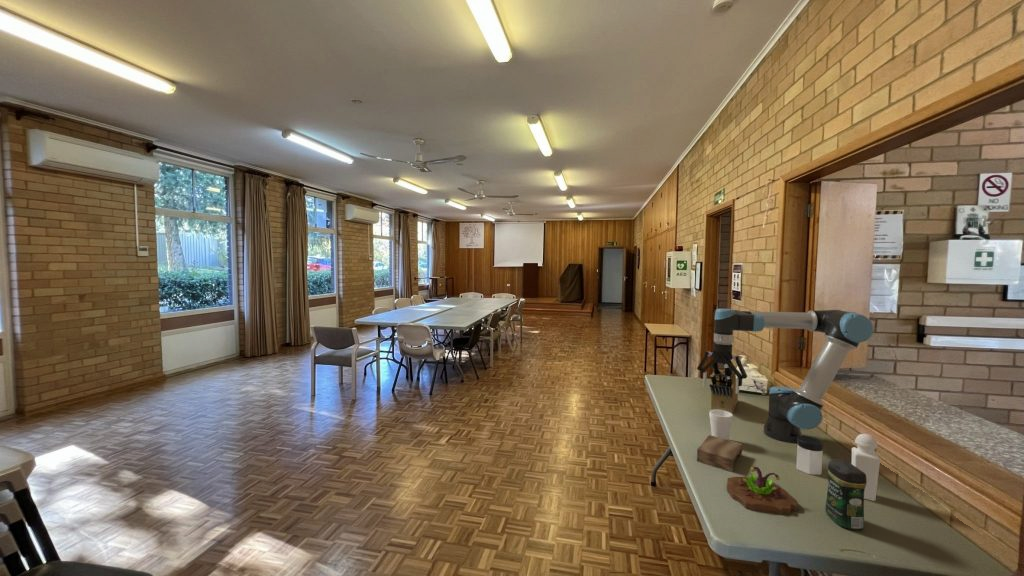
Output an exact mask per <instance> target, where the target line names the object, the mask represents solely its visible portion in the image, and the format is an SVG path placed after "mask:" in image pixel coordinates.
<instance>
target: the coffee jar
mask: <svg viewBox="0 0 1024 576" xmlns="http://www.w3.org/2000/svg"><path fill="white" fill-rule="evenodd" d="M827 477H828V478H827V479H828V480H827V481H828V482H827V493H826V501H825V507H824V508H825V513H826V515H827V516H828V517H829V518H830V519H831V520H832V521H833V522H834V523H835V524H837V525H838V526H840V527H841V528H845V529H848V530H851V531H853V530H855V531H858V530H863V529H864V528H865V499H864V490H865V487H866V484H867V483H866V482H867V481H866V474H865V473H864V472H862V471H861V470H860V469H858V468H857V467H855V466H854V465H852V463H850V462H849V461H847V460H845V459H831V460H830V461H829V462H828V465H827Z"/></svg>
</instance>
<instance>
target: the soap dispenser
mask: <svg viewBox="0 0 1024 576" xmlns="http://www.w3.org/2000/svg"><path fill="white" fill-rule="evenodd" d="M854 443H855V445H856V447H855V446H854V447H852V448H851V464H852V465H854V466H855V467H857V468H858V469H860V470H861V471H862V472H864V473H865V474H866V481H867V482H866V483H867V484H866V487H865V490H864V500H867V501H872V502H876V500H877V499H876V498H877V492H878V491H877V489H878V481H879V473H880V464H881V458H880V457H879V456H878V454H877V452H876V451H875V450H876V449H877V448H878V447H879V445H878V442H877V440H876V439H875V437H873V435H871V434H868V433H860V434H858V435H857V436H856V438H855V439H854Z"/></svg>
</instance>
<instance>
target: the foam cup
mask: <svg viewBox="0 0 1024 576" xmlns="http://www.w3.org/2000/svg"><path fill="white" fill-rule="evenodd" d="M708 416H709V421H710V430H711V436H714V437H718V438H722V439H726V440H729V439H730V433H731V428H732V422H733V420H734V419H733V417H734V415H733V413H730V412H727V411H724V410H713V409H711V410H709V414H708Z"/></svg>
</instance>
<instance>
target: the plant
mask: <svg viewBox="0 0 1024 576" xmlns="http://www.w3.org/2000/svg"><path fill="white" fill-rule="evenodd" d="M750 472H753V473H754V472H756V473H757V476H756V475H755V474H753V473H750V475H748V476H747V475H746V476H732V477H728V478H727V483H726V492H727V494H729V496H730V498H732V499H733V500H734V501H735V502H737V503H739V504H740V505H741V506H742V507H743V508H744V509H746V510H750V511H757V512H758V511H759V512H764V513H774V514H775V513H776V514H777V515H781V516H782V515H784V514H786V515H791V512H797V511H798V509H799V503H798V501H797V500H796V499H795V498H794V497H793V496H792V495H791V494H790V493H789V492H788V491H787V490H786V489H784V488H783V487H781V486H780V484H776V482H773V479H772V478H769V477H770V476H772V475H774V477H775V479H776V480H777V481H779V480H780V479H781V478H780V476H779V475H778V474H777V473H774V472H769V473H767V474H765V475H764V476H763V472H762V470H761V469H760V467H757V466H751V467H750Z"/></svg>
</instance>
